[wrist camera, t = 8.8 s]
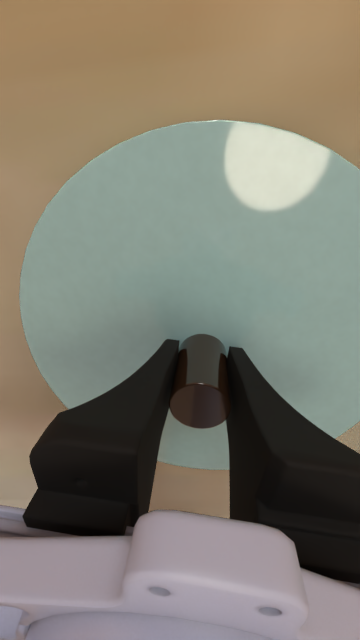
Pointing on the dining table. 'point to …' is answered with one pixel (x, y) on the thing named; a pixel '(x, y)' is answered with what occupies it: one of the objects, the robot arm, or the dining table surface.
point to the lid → (202, 276)
